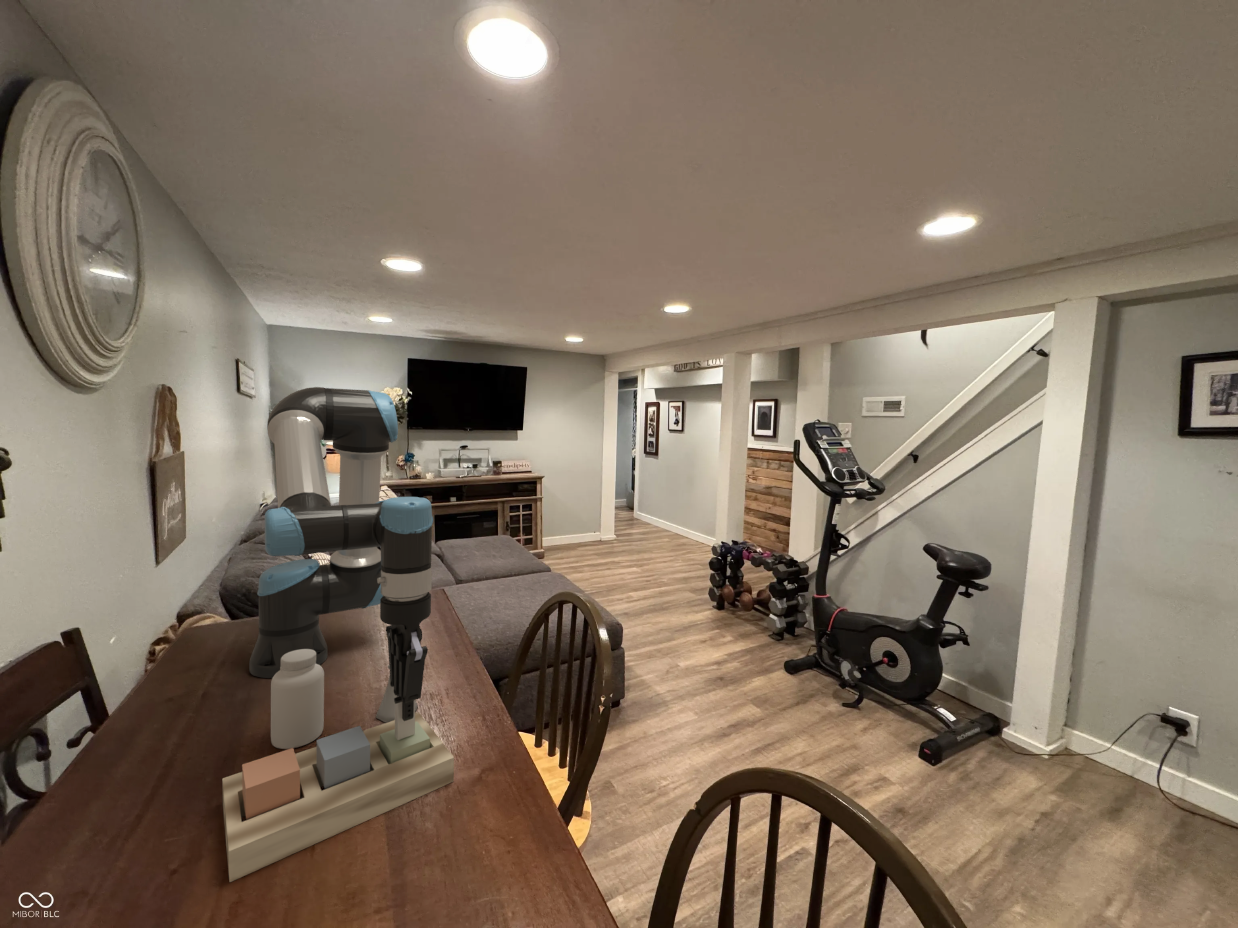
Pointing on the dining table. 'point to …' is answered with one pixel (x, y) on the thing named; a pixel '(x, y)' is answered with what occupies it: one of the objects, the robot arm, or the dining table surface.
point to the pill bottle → (297, 700)
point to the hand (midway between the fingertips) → (404, 734)
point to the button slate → (343, 756)
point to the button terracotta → (270, 782)
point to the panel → (329, 802)
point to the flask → (388, 705)
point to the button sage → (403, 744)
